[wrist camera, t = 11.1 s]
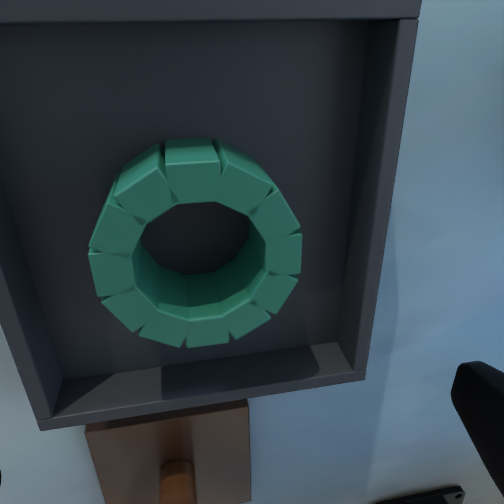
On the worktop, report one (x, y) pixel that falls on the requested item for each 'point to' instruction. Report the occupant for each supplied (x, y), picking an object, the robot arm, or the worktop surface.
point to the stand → (175, 456)
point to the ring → (205, 284)
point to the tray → (194, 214)
